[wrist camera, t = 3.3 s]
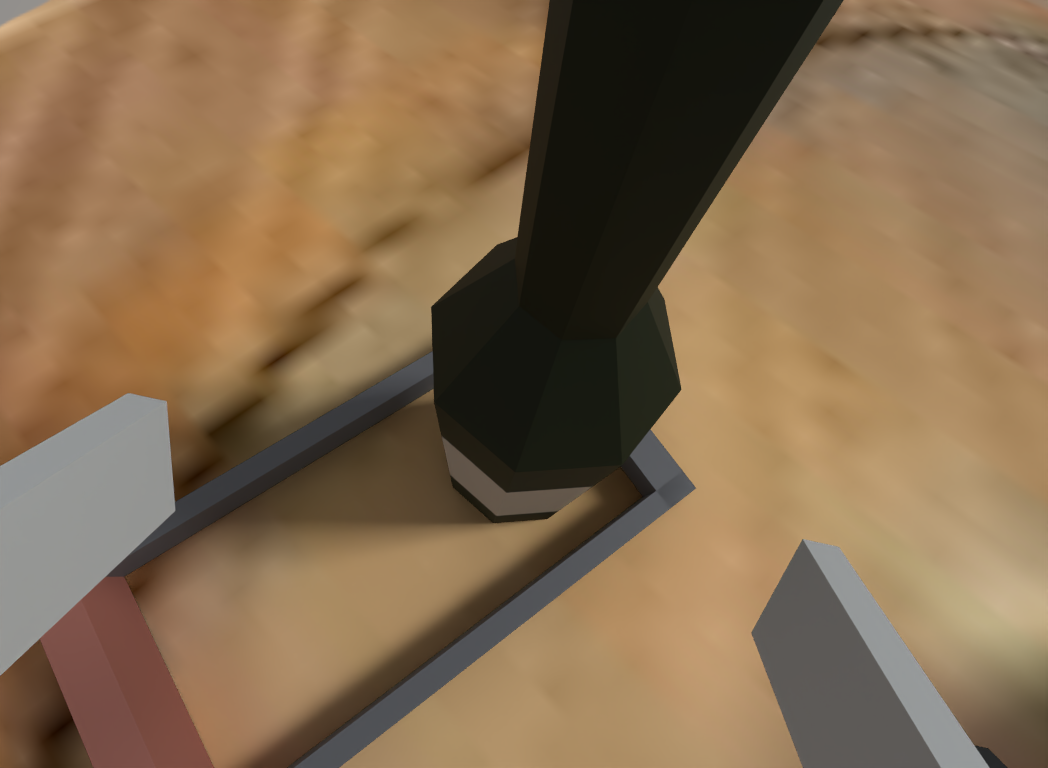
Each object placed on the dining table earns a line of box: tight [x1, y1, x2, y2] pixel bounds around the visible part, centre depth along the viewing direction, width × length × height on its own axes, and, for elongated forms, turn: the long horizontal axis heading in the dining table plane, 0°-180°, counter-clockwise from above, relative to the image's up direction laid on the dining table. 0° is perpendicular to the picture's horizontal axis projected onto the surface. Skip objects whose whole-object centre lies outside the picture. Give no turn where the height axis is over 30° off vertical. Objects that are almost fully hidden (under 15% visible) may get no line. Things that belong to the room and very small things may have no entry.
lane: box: [40, 351, 696, 768], centre depth 29 cm, size 30×15×4 cm, turn 125°
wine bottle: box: [431, 0, 843, 523], centre depth 18 cm, size 8×8×30 cm
